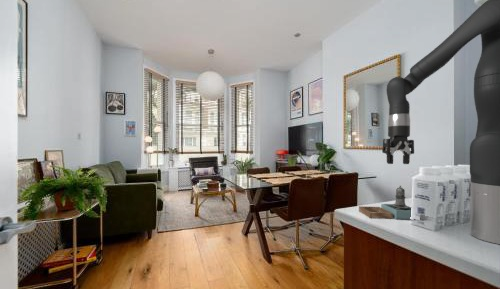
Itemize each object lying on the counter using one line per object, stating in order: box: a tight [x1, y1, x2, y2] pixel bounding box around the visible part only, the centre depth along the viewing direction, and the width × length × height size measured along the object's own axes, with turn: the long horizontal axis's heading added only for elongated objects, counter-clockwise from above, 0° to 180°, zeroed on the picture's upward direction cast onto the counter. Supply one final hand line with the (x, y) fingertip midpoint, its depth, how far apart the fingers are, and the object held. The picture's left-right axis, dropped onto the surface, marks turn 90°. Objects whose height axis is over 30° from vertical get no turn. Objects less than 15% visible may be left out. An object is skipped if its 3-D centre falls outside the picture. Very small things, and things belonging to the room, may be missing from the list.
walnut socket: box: [358, 205, 394, 220], centre depth 86 cm, size 9×9×2 cm
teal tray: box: [380, 203, 412, 221], centre depth 86 cm, size 10×10×4 cm
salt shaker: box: [391, 185, 410, 210], centre depth 86 cm, size 6×6×12 cm
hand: (398, 163), depth 87 cm, fingers open, 8 cm apart
